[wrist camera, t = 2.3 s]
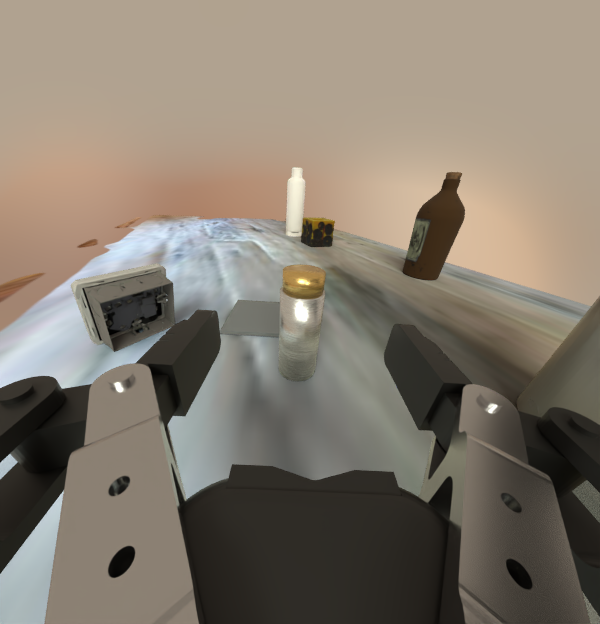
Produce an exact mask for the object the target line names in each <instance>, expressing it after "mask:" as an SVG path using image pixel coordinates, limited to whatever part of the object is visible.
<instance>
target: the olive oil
mask: <svg viewBox="0 0 600 624" xmlns="http://www.w3.org/2000/svg"><path fill="white" fill-rule="evenodd" d="M461 176H462V173H459V172H449V173H447V175H446V179H445V180H444V182H443V185H442V189H441V191H440V192H439V193H438V194H437V195H435V196H434V197H432V198H431V199H430V200H429V201H427V202H426V203H425V204H424V205H423V206H422V207H421V209H420V210H419V212H418V214H417V217H416V220H415V224H414V228H413V232H412V237H411V241H410V245H409V249H408V252H407V256H406V260H405V264H404V268H403V273H404V274H406V275H408V276H411V277H414V278H418V279H424V280H435V279H437V278H438V277H439V274H440V272H441V270H442V267H443V265H444V263H445V260H446V258H447V255H448V253H449V251H450V249H451V246H452V245H453V242H454V240H455V238H456V236H457V234H458V231H459V229H460V227H461V225H462V223H463V220H464V215H465V209H464V206H463V204H462V202H461V200H460V198H459V196H458V194H457V188H458V186H459V183H460V177H461Z"/></svg>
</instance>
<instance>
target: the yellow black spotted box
mask: <svg viewBox="0 0 600 624" xmlns="http://www.w3.org/2000/svg"><path fill="white" fill-rule="evenodd" d="M334 223H335V221H333V220H329V219H325V218H303V223H302V224H303V225H302V235H301V238H302V240H301V242H302V243H304V244H306V245H308V246H310V247H324V246H332V241H333V231H334Z"/></svg>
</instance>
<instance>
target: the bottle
mask: <svg viewBox="0 0 600 624" xmlns="http://www.w3.org/2000/svg"><path fill="white" fill-rule="evenodd" d="M302 171H303V169H302V168H292V177H291V178H290V179H289V180H288V187H287V215H286V217H287V218H286V230H287V231H286V235H288V236H296V237H297V236H301V235H302V225H303V224H302V223H303V213H304V198H305V184H306V183H305V180H304V179H303V178H302Z"/></svg>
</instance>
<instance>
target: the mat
mask: <svg viewBox="0 0 600 624" xmlns="http://www.w3.org/2000/svg"><path fill="white" fill-rule="evenodd" d="M279 326H280V302H264V301H248V300H238V301H237V303H236V304H235V306H234V308H233V310H232V311H231V313H230V315H229V316H228V318H227V320H226V321H225V323H224V325H223V327H222V328H221V330H220V332H221V334H234V335H251V336H269V337H279Z"/></svg>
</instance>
